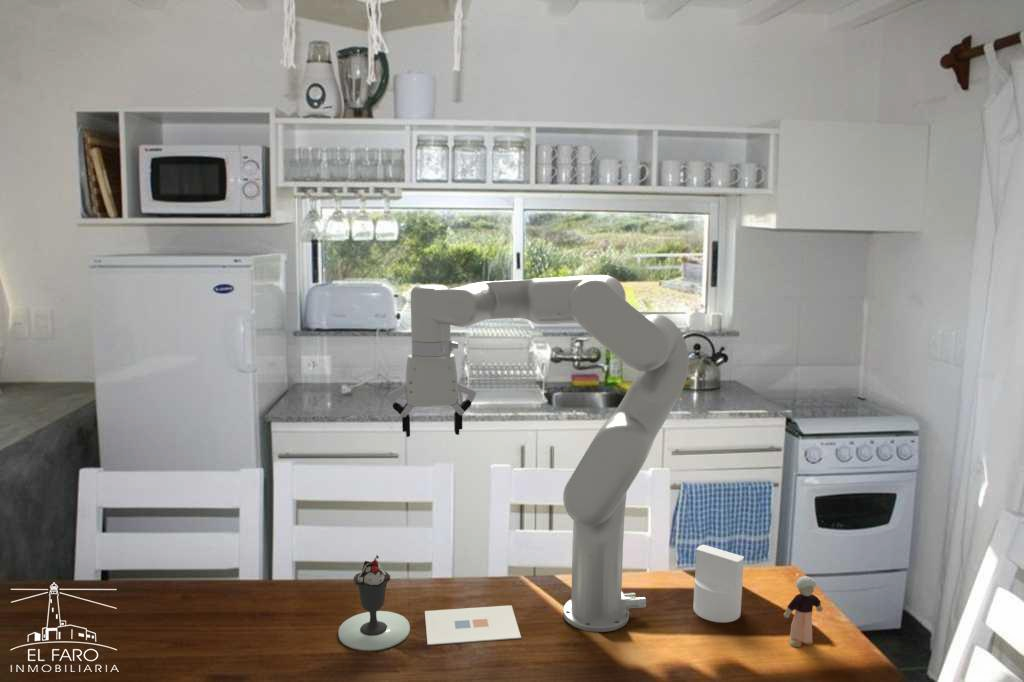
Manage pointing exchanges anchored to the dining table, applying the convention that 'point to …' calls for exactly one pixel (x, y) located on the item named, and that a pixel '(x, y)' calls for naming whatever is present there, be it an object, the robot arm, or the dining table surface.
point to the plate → (391, 637)
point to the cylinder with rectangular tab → (718, 584)
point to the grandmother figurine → (802, 612)
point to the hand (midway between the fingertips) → (432, 434)
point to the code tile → (471, 625)
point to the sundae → (372, 594)
